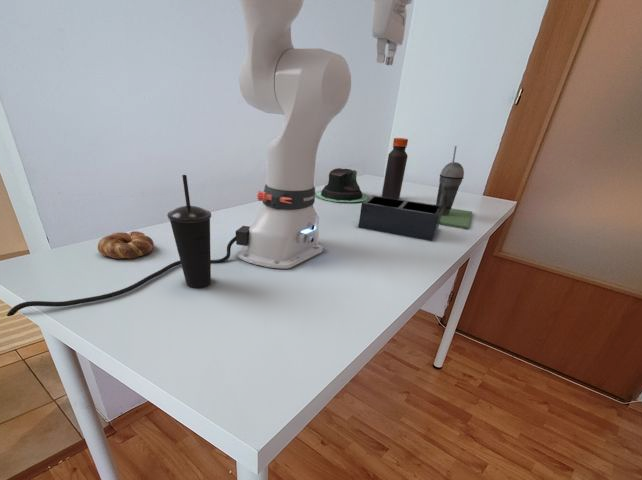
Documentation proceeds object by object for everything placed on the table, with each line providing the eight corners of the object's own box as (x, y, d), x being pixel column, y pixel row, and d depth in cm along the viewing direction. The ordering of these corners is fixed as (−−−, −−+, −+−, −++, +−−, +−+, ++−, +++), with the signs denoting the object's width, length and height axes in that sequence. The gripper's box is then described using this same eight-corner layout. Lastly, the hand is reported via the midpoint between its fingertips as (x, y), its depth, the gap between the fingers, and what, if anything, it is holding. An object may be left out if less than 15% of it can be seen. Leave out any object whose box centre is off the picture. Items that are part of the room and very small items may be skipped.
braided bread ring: (98, 263, 78) (93, 246, 76) (100, 246, 87) (95, 230, 84) (156, 258, 82) (153, 242, 80) (153, 241, 90) (150, 226, 88)
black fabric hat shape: (324, 185, 148) (372, 192, 144) (311, 217, 141) (361, 226, 137) (323, 151, 135) (376, 158, 131) (308, 185, 128) (364, 194, 124)
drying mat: (467, 229, 112) (468, 226, 111) (409, 219, 117) (409, 216, 117) (471, 213, 127) (472, 211, 126) (419, 205, 132) (420, 203, 132)
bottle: (378, 196, 141) (387, 137, 129) (393, 196, 142) (404, 137, 131) (386, 201, 135) (397, 139, 124) (402, 200, 137) (414, 140, 125)
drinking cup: (201, 271, 78) (189, 169, 66) (225, 282, 74) (216, 176, 62) (171, 282, 73) (151, 174, 61) (194, 295, 69) (178, 182, 57)
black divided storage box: (432, 241, 101) (438, 215, 97) (358, 227, 108) (361, 203, 104) (437, 230, 110) (444, 206, 105) (368, 218, 116) (372, 195, 112)
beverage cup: (455, 217, 119) (475, 148, 107) (433, 216, 119) (451, 147, 107) (449, 211, 125) (467, 145, 113) (428, 210, 125) (444, 143, 113)
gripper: (391, 1, 98) (382, 66, 106) (371, -17, 83) (362, 60, 91) (415, 1, 96) (404, 67, 104) (398, -18, 81) (387, 61, 89)
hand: (384, 64), depth 97 cm, fingers open, 8 cm apart
